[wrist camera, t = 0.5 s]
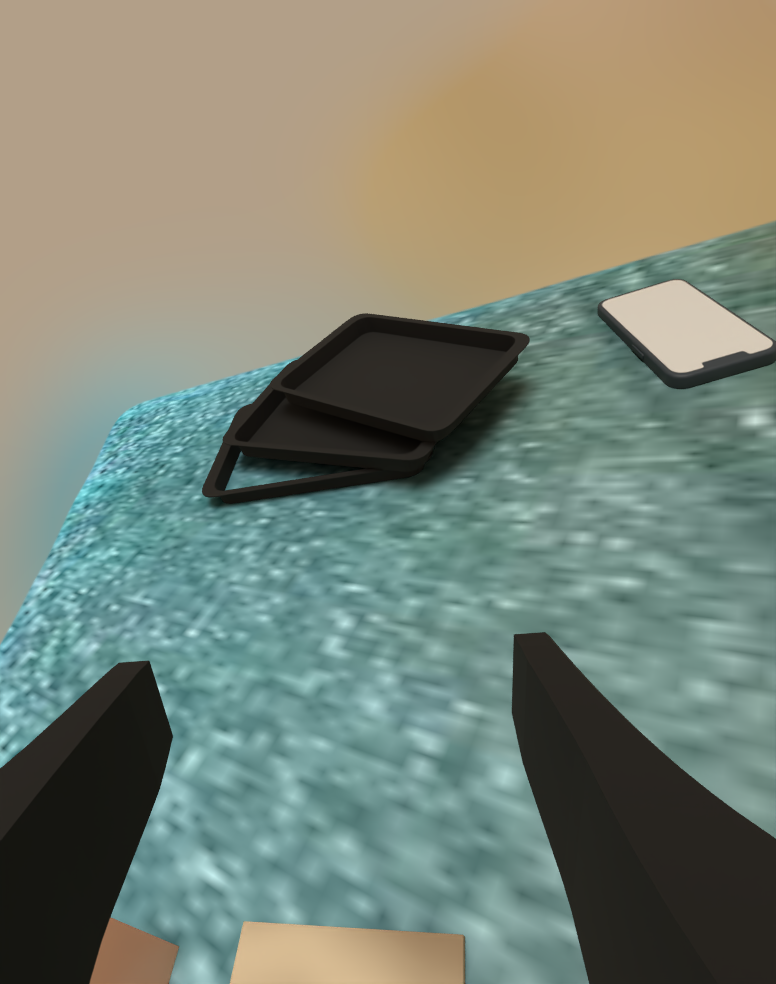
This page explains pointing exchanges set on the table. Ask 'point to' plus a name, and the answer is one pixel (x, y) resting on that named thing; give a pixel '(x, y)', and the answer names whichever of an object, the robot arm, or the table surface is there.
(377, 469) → the tray
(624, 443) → the table surface
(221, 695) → the table surface
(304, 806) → the table surface
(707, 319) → the smartphone
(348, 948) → the tan flat panel
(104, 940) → the copper faced block
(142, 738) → the robot arm
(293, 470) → the table surface
